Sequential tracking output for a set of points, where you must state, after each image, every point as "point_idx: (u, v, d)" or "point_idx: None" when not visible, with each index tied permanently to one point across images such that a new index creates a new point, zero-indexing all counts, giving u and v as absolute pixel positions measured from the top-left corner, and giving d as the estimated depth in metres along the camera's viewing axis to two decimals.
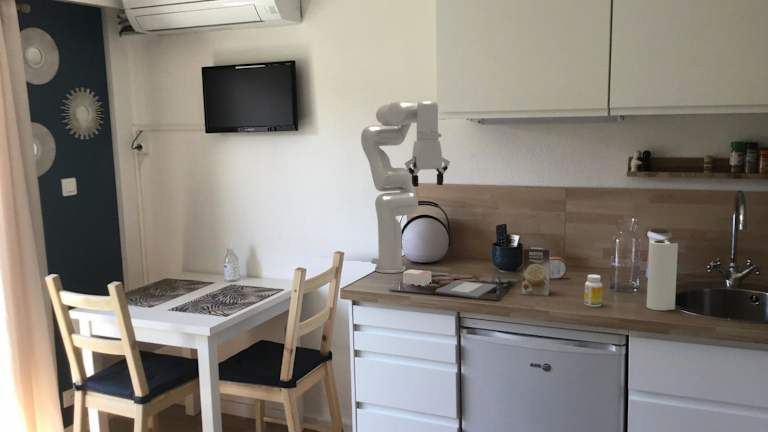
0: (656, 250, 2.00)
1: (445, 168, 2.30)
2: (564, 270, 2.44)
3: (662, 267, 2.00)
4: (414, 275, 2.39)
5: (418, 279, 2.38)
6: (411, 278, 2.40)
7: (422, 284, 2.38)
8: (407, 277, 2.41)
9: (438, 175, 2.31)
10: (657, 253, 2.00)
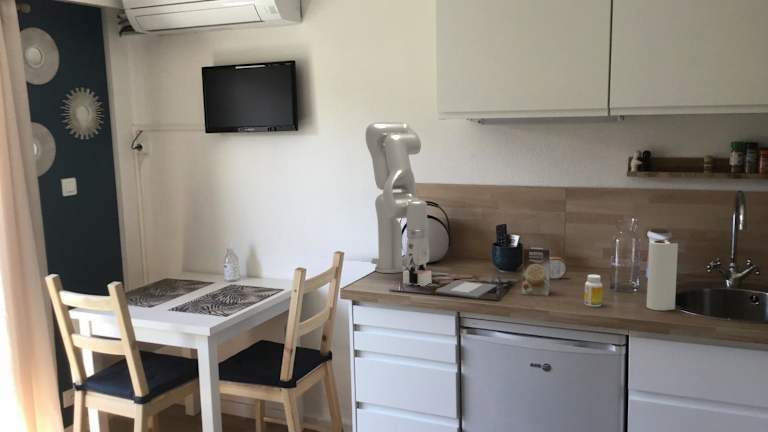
0: (656, 250, 2.00)
1: None
2: (564, 270, 2.44)
3: (662, 267, 2.00)
4: None
5: (417, 279, 2.38)
6: None
7: (421, 284, 2.37)
8: (407, 276, 2.41)
9: None
10: (657, 253, 2.00)
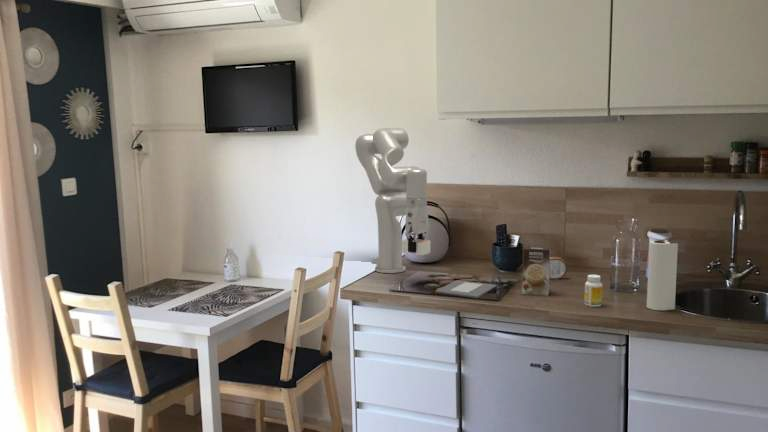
0: (656, 250, 2.00)
1: None
2: (564, 270, 2.44)
3: (662, 267, 2.00)
4: None
5: (416, 247, 2.37)
6: None
7: (420, 252, 2.36)
8: (406, 245, 2.40)
9: None
10: (657, 253, 2.00)
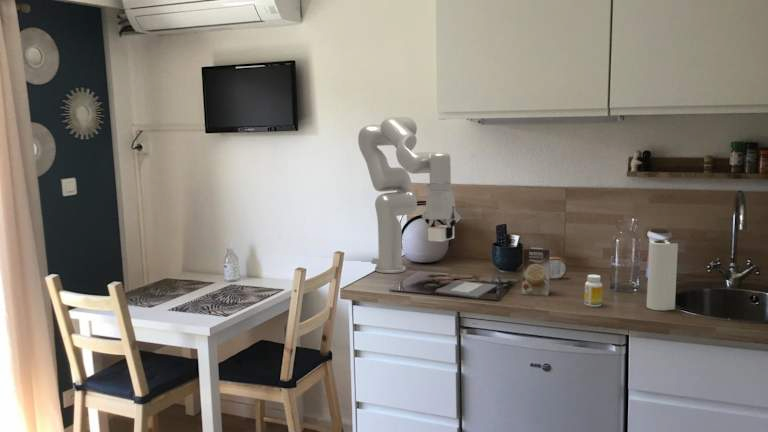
0: (656, 250, 2.00)
1: None
2: (564, 270, 2.44)
3: (662, 267, 2.00)
4: None
5: None
6: None
7: None
8: None
9: None
10: (657, 253, 2.00)
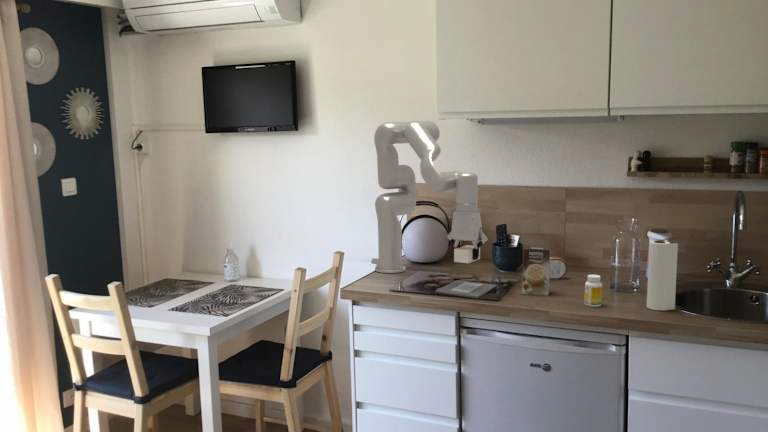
0: (656, 250, 2.00)
1: None
2: (564, 270, 2.44)
3: (662, 267, 2.00)
4: None
5: None
6: None
7: None
8: None
9: None
10: (657, 253, 2.00)
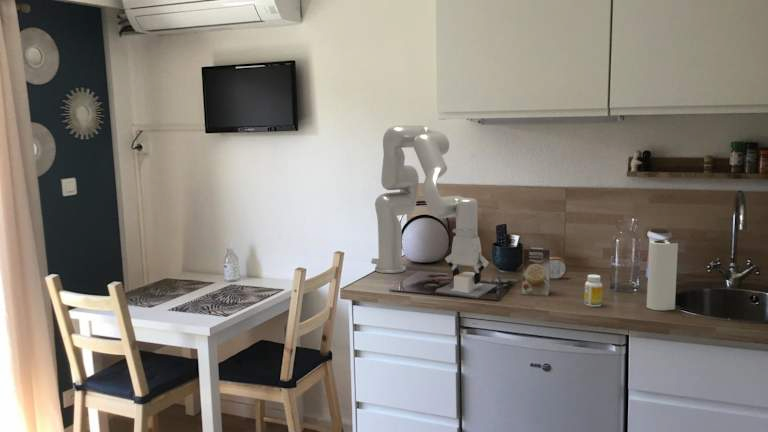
0: (656, 250, 2.00)
1: None
2: (564, 270, 2.44)
3: (662, 267, 2.00)
4: None
5: None
6: None
7: None
8: None
9: (457, 271, 2.32)
10: (657, 253, 2.00)
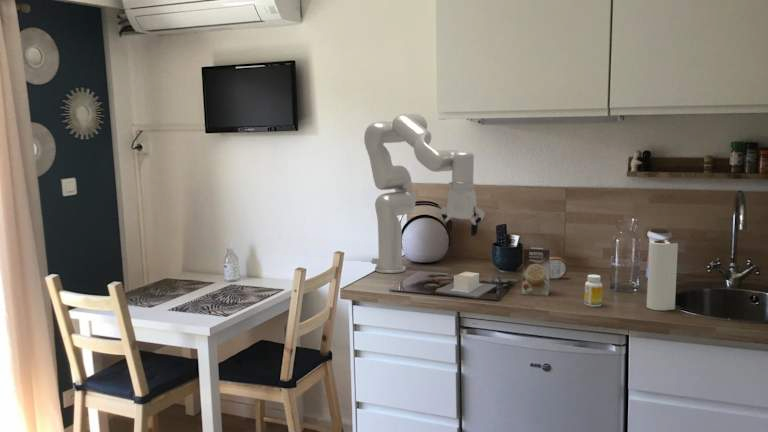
0: (656, 250, 2.00)
1: None
2: (564, 270, 2.44)
3: (662, 267, 2.00)
4: None
5: None
6: None
7: None
8: None
9: (450, 223, 2.35)
10: (657, 253, 2.00)
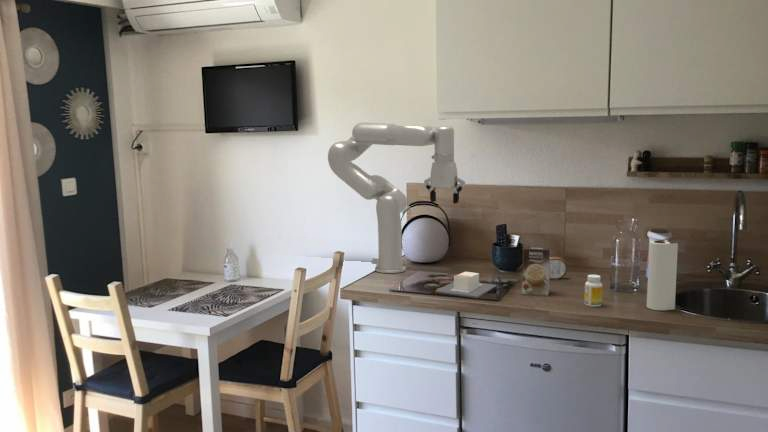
0: (656, 250, 2.00)
1: None
2: (564, 270, 2.44)
3: (662, 267, 2.00)
4: None
5: None
6: None
7: None
8: None
9: (433, 193, 2.55)
10: (657, 253, 2.00)
